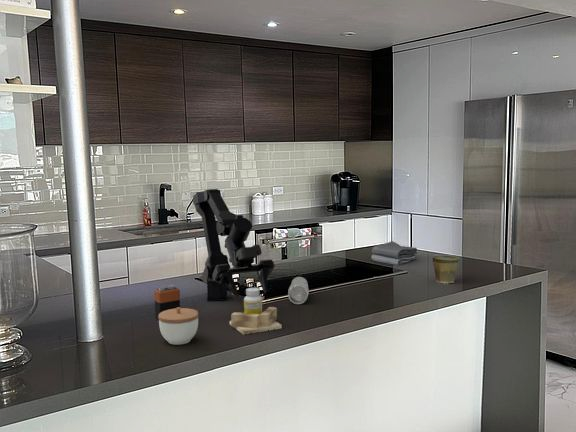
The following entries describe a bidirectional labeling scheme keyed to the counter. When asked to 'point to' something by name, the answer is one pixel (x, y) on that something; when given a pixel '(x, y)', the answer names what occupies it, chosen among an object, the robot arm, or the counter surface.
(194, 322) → the lidded jar
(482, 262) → the counter surface
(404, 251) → the towel
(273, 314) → the v block
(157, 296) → the battery
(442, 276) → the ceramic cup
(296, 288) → the beer glass
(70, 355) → the counter surface
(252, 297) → the supplement bottle
